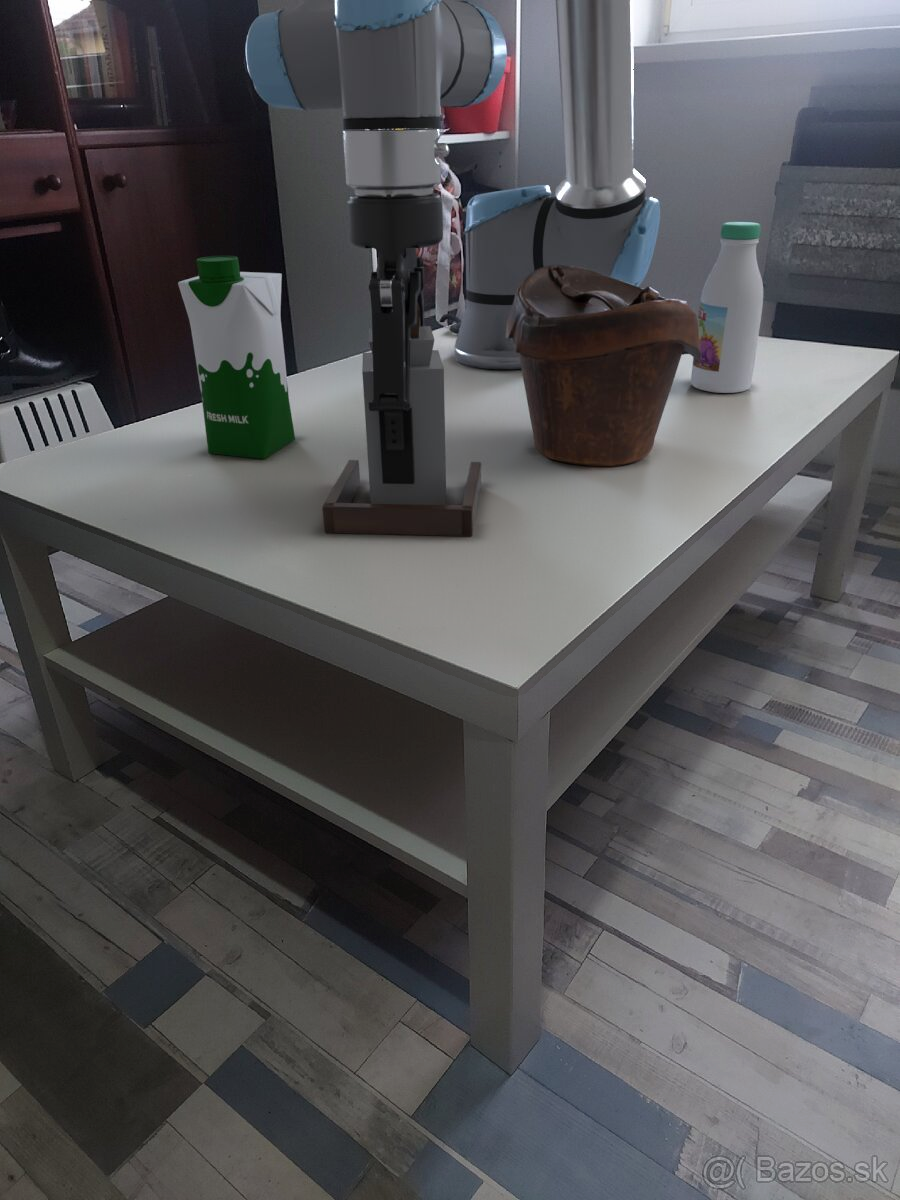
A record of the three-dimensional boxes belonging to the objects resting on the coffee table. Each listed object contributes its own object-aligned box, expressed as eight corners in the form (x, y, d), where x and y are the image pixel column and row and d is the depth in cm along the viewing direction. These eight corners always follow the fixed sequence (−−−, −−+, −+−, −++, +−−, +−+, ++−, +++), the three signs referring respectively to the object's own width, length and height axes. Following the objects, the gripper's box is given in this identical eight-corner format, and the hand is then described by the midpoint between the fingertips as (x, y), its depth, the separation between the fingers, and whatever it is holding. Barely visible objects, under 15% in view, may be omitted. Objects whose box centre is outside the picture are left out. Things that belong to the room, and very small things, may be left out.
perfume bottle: (371, 494, 86) (359, 300, 77) (441, 490, 86) (436, 297, 78) (371, 521, 80) (358, 315, 71) (446, 518, 80) (442, 312, 72)
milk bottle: (744, 379, 120) (767, 219, 111) (756, 394, 114) (781, 226, 104) (686, 378, 121) (704, 220, 112) (694, 394, 114) (714, 226, 105)
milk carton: (196, 455, 97) (165, 260, 87) (240, 430, 104) (215, 248, 94) (267, 463, 94) (243, 263, 84) (307, 437, 101) (289, 250, 92)
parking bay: (350, 483, 88) (348, 459, 87) (481, 486, 87) (481, 461, 86) (324, 533, 78) (322, 506, 77) (472, 536, 77) (472, 509, 76)
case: (677, 487, 86) (699, 294, 77) (481, 465, 92) (482, 284, 84) (699, 432, 101) (719, 265, 92) (528, 417, 107) (533, 258, 98)
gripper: (426, 202, 61) (434, 510, 71) (454, 182, 79) (457, 428, 90) (318, 203, 61) (342, 508, 72) (371, 183, 80) (383, 427, 91)
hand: (406, 463), depth 81 cm, fingers open, 8 cm apart
